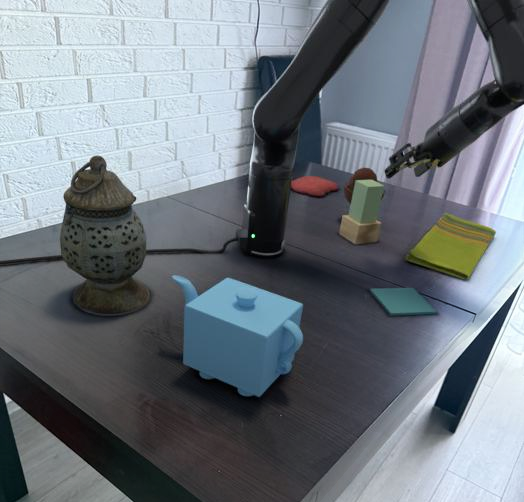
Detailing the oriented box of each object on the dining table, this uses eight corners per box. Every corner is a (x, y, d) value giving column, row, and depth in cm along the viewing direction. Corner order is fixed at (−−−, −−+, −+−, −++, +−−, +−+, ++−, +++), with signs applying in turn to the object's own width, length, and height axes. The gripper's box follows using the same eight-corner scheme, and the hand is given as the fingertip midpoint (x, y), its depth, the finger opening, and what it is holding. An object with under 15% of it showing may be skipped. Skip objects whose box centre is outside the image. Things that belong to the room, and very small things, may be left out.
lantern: (150, 316, 88) (146, 171, 74) (63, 318, 85) (42, 166, 71) (148, 279, 100) (145, 146, 85) (72, 279, 96) (55, 141, 82)
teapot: (307, 374, 79) (323, 297, 71) (275, 414, 71) (288, 331, 63) (192, 328, 87) (194, 253, 79) (150, 358, 78) (148, 278, 71)
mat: (390, 316, 98) (391, 313, 97) (369, 291, 106) (370, 288, 105) (435, 314, 100) (436, 311, 100) (412, 290, 108) (413, 287, 108)
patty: (317, 199, 152) (318, 192, 151) (279, 187, 158) (280, 181, 157) (344, 188, 165) (345, 182, 164) (308, 177, 171) (309, 171, 169)
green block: (360, 223, 124) (368, 186, 119) (348, 216, 128) (355, 180, 123) (376, 221, 126) (384, 185, 121) (363, 214, 130) (371, 179, 125)
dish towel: (494, 237, 141) (498, 226, 139) (468, 282, 114) (473, 269, 113) (439, 222, 146) (443, 211, 145) (403, 261, 120) (406, 249, 118)
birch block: (355, 244, 126) (359, 225, 123) (338, 233, 131) (342, 215, 128) (377, 241, 129) (381, 223, 126) (360, 231, 134) (364, 213, 131)
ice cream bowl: (380, 232, 134) (394, 175, 126) (339, 228, 134) (350, 170, 126) (374, 218, 143) (387, 164, 135) (335, 214, 143) (345, 159, 134)
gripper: (475, 114, 101) (420, 157, 116) (422, 113, 95) (371, 159, 110) (486, 148, 101) (429, 188, 115) (434, 150, 94) (381, 191, 109)
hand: (401, 173), depth 112 cm, fingers open, 8 cm apart
